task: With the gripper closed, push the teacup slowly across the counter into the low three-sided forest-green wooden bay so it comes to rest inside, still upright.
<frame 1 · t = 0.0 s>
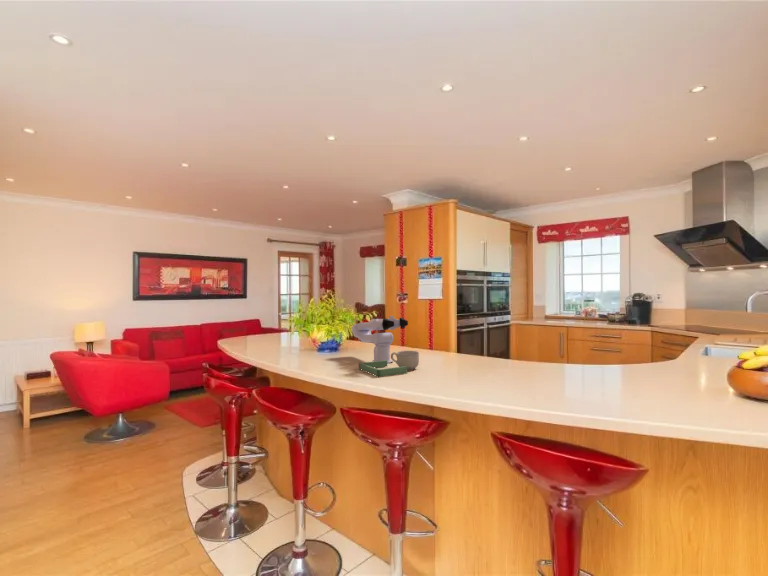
hand: (400, 323, 186), 22 cm above the table, tool horizontal, fingers open, 7 cm apart
green bay: (386, 370, 180), on the table
teacup: (405, 369, 185), on the table
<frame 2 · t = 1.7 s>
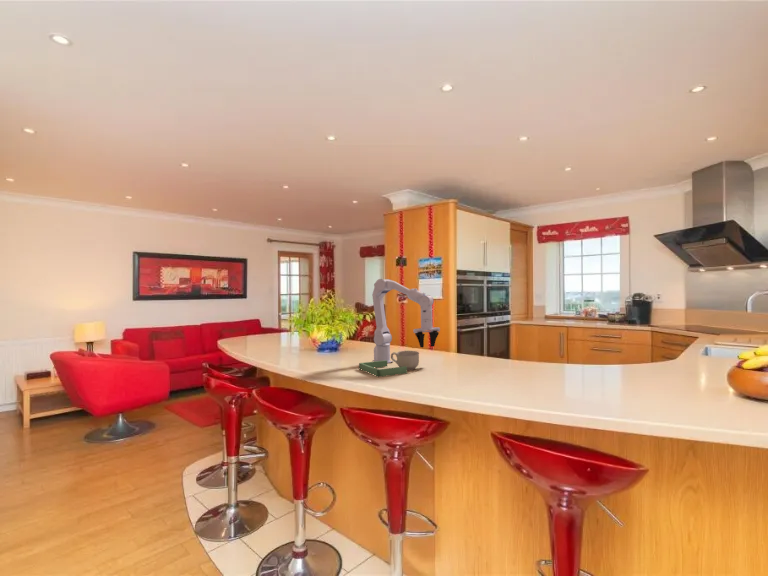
hand: (427, 346, 191), 9 cm above the table, tool pointing down, fingers open, 6 cm apart
nothing on the table moved.
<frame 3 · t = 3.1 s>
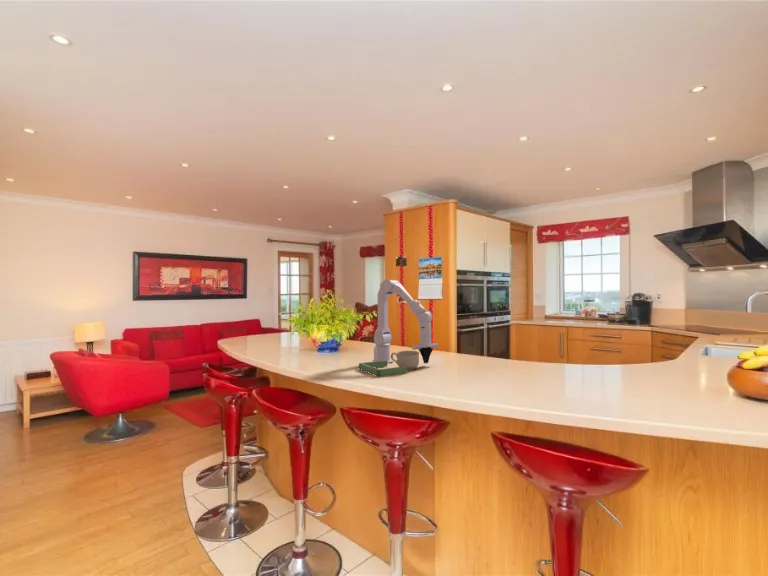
hand: (425, 363, 190), 1 cm above the table, tool pointing down, fingers closed
nothing on the table moved.
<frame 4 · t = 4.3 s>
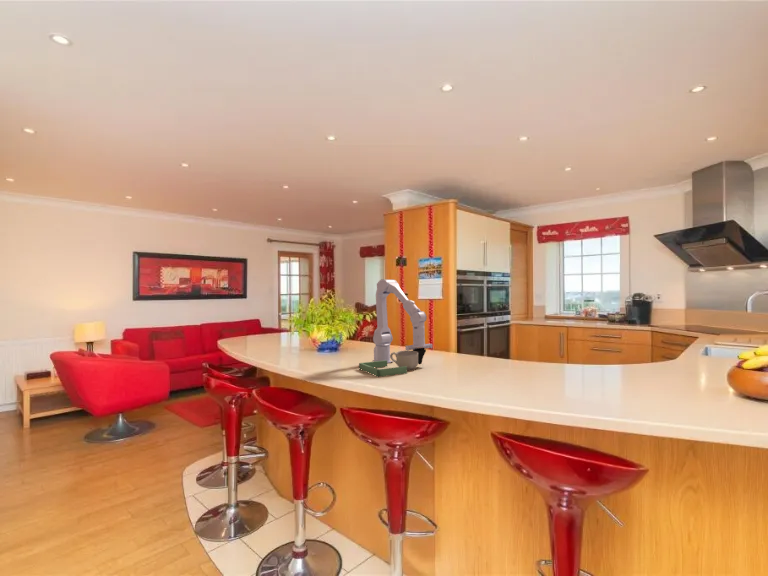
hand: (419, 363, 188), 1 cm above the table, tool pointing down, fingers closed
teacup: (404, 368, 185), on the table, touching gripper
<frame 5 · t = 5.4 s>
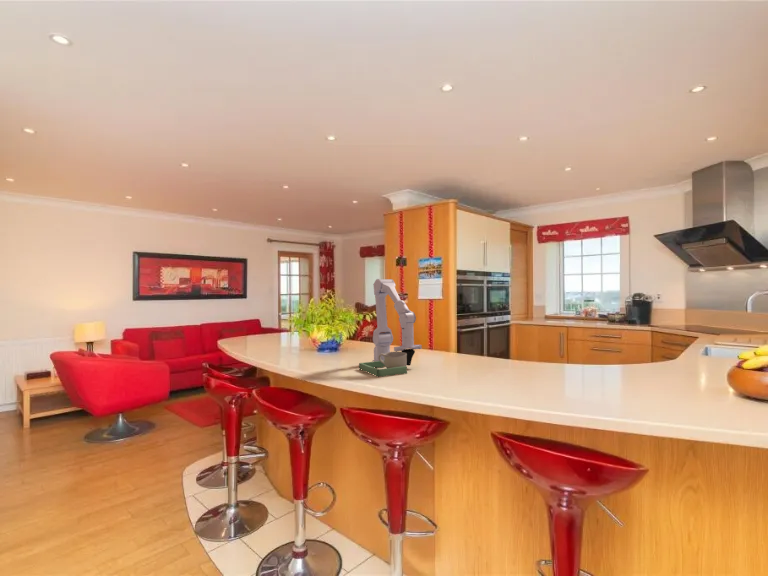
hand: (408, 365, 186), 1 cm above the table, tool pointing down, fingers closed
teacup: (392, 370, 182), on the table, touching gripper
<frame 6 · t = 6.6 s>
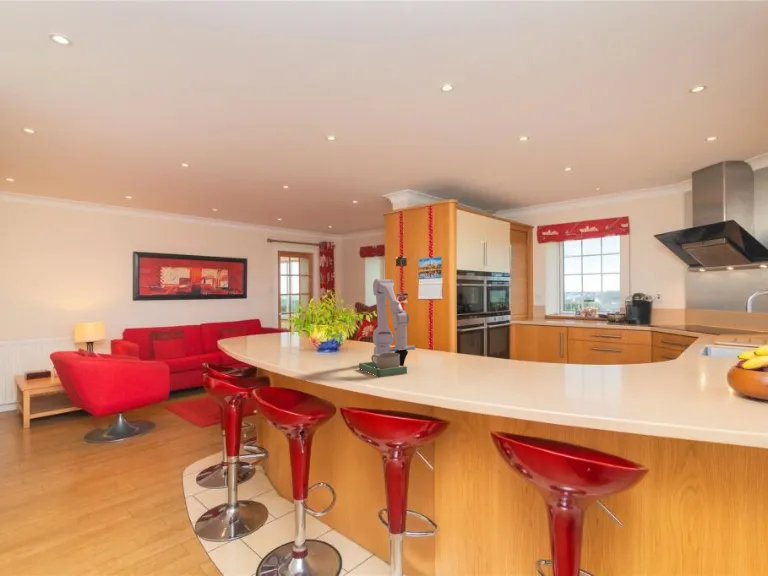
hand: (401, 365, 184), 1 cm above the table, tool pointing down, fingers closed
teacup: (385, 371, 180), on the table, touching gripper
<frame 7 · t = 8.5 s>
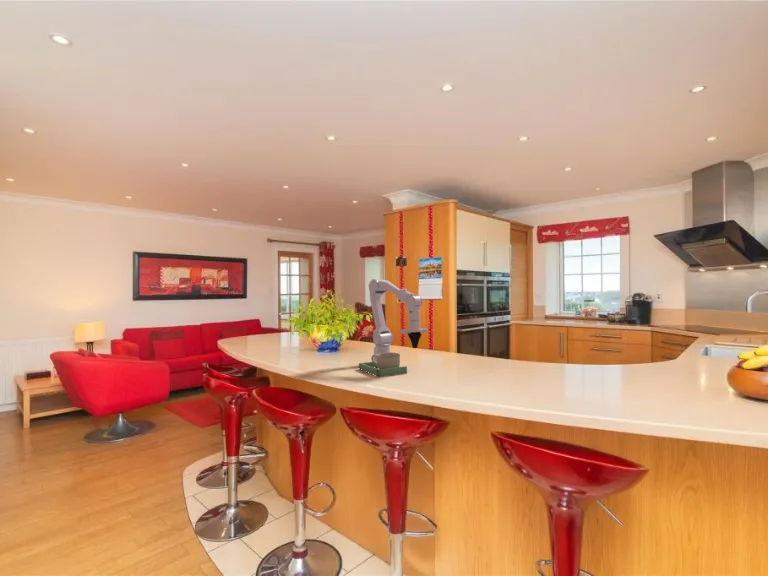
hand: (414, 347, 188), 9 cm above the table, tool pointing down, fingers closed
teacup: (385, 371, 180), on the table
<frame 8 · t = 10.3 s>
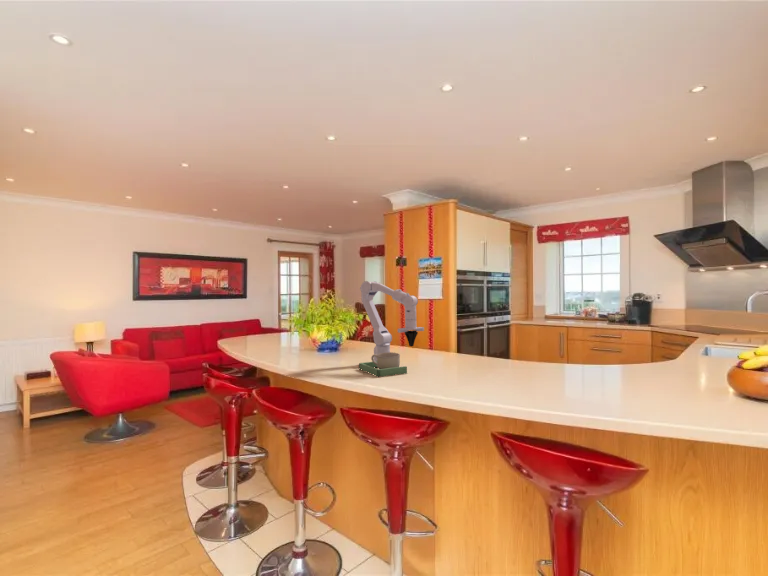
hand: (411, 346, 195), 9 cm above the table, tool pointing down, fingers closed
nothing on the table moved.
at the end: teacup inside the target area on the green bay (1.8 cm from its centre), point 0.0 cm above the green bay's base; teacup tilted 0°; teacup moved 10.5 cm from its start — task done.
